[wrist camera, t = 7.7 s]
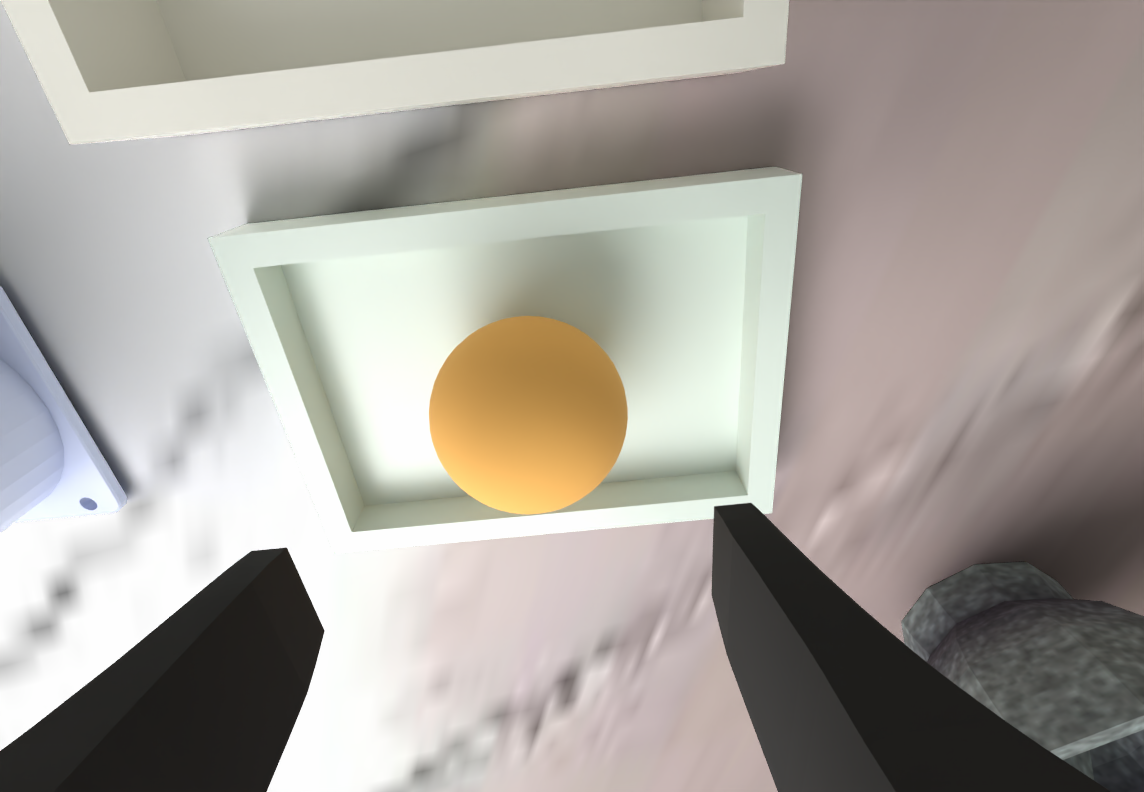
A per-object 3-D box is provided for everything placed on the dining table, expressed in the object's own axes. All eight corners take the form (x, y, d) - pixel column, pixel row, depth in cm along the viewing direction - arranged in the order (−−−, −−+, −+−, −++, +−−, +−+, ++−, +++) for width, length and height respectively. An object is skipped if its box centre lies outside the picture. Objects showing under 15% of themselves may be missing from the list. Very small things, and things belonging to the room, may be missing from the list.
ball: (465, 454, 17) (440, 571, 13) (426, 303, 15) (380, 384, 11) (621, 432, 17) (649, 543, 13) (606, 279, 15) (634, 349, 11)
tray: (352, 516, 19) (334, 553, 18) (245, 223, 15) (207, 237, 13) (753, 478, 19) (771, 513, 17) (775, 166, 14) (802, 173, 13)
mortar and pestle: (1068, 482, 19) (1688, 940, 9) (1134, 622, 23) (1635, 1070, 12) (785, 626, 22) (989, 1092, 12) (882, 730, 26) (1106, 1162, 15)
